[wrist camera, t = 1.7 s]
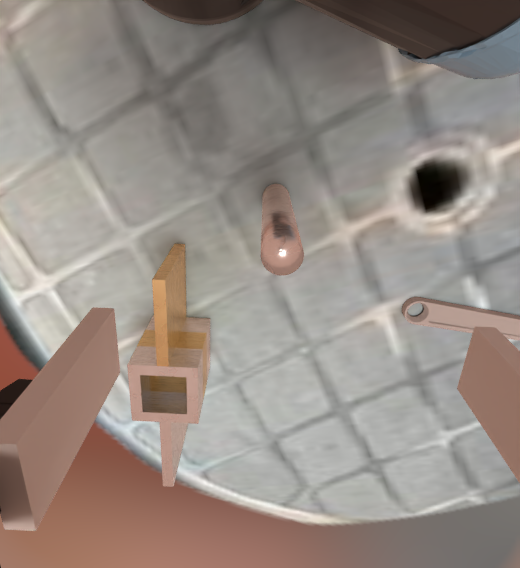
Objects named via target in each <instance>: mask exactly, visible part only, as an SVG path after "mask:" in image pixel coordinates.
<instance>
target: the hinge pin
mask: <svg viewBox="0 0 520 568" xmlns="http://www.w3.org/2000/svg"><path fill="white" fill-rule="evenodd" d="M303 258H304V252H303V248H302V244H301V240H300V236H299V232H298V228H297V224H296V220H295V215H294V211H293V207H292V203H291V199H290V195H289V192H288V190H287V189H286V188H285V187H284V186H283V185H280V184H272V185H270V186H268V187H267V188H266V189H265V190H264V192H263V198H262V232H261V260H262V263H263V265H264V267H265V268H266V269H267V270H268V271H270V272H271V273H273V274H276V275H288V274H291V273H293V272H294V271H296V270H297V269H298V268H299V267H300V265H301V264H302V262H303Z"/></svg>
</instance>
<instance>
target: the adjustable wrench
mask: <svg viewBox="0 0 520 568" xmlns="http://www.w3.org/2000/svg"><path fill="white" fill-rule="evenodd" d="M416 303H421V304H422V305H423V307H424V310H423V312H422V313H421V314H420V315H418V316H415V317H413V316H410V315H409V314H408V312H407V310H408V308H409V307H410V306H411V305H413V304H416ZM402 313H403V315H404V316H405V318H406V320H407V321H408V322H410V323H412V324H417V325H423V326H430V327H436V328H443V329H449V330H456V331H462V332H469V333H473V331H474V327H495V328H497V329H498V330H499V331H500V332H501V333H502V334H503V335H504V336H505V337H506V338H508V339H514V340H520V316H518V315H512V314H507V313H502V312H496V311H491V310H485V309H480V308H475V307H469V306H464V305H458V304H453V303H448V302H442V301H437V300H432V299H426V298H421V297H413V298H410V299H408V300H407V301H406V302H405V303H404V304H403V306H402Z"/></svg>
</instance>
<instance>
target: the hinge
mask: <svg viewBox="0 0 520 568" xmlns="http://www.w3.org/2000/svg"><path fill="white" fill-rule="evenodd" d="M152 283H153V302H154V316H152V318H151V320H150V322H149V324H148V326H147V328H146V330H145V332H144V334H143V336H142V337H141V339H140V341H139V343H138V345H137V347H136V349H135V351H134V353H133V355H132V357H131V359H130V361H129V363H128V364H127V366H128V377H129V389H130V401H131V413H132V420H134V421H155V422H160V436H161V455H162V474H163V486H172V487H173V486H174V482H175V477H176V473H177V469H178V465H179V461H180V456H181V452H182V448H183V444H184V439H185V435H186V431H187V427H188V423H196V424H198V423H199V418H200V413H201V408H202V404H203V399H204V394H205V389H206V384H207V379H208V374H209V370H210V318H192V317H186V266H185V244H174V246H173V247H172V249H171V250H170V252H169V254H168V255H167V257H166V258H165V260H164V262H163V263H162V265H161V266H160V268H159V270H158V271H157V273H156V274H155V276H154V278H153V279H152Z"/></svg>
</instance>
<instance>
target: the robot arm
mask: <svg viewBox="0 0 520 568" xmlns="http://www.w3.org/2000/svg"><path fill="white" fill-rule="evenodd" d="M143 1H144V2H145V3H147V4H148V5H149V6H151V7H152V8H154V9H155V10H157V11H158V12H160V13H162V14H164V15H165V16H168V17H170V18H172V19H175V20H178V21H181V22H185V23H190V24H197V25H211V24H219V23H223V22H227V21H230V20H233V19H236V18H238V17H240V16H242V15H244V14H246V13H248V12H249V11H251V10H252V9H254V8H255V7H256V6H257V5H259V4H260V3H261V2H262V1H263V0H143ZM296 1H298V2H300V3H302V4H304V5H307V6H309V7H311V8H313V9H315V10H317V11H319V12H322V13H324V14H326V15H328V16H330V17H332V18H335V19H337V20H339V21H341V22H343V23H345V24H347V25H350V26H352V27H354V28H356V29H358V30H360V31H363V32H365V33H367V34H369V35H371V36H373V37H375V38H378V39H380V40H382V41H384V42H386V43H388V44H391V45H393V46H395V47H397V48H398V50H399V52H400V53H401V54H402V55H403V56H405V57H406V58H408V59H410V60H412V61H414V62H418V63H420V62H422V63H426V64H434V65H437V66H439V67H442V68H444V69H447V70H449V71H452V72H454V73H457V74H459V75H462V76H464V77H468V78H473V79H478V78H479V79H495V78H503V77H507V76H510V75H513V74H516V73H520V0H296ZM119 373H120V366H119V355H118V345H117V334H116V324H115V313H114V309H112V308H92V309H91V310H90V312H89V313H88V314H87V315H86V316H85V318H84V319H83V320H82V321H81V322H80V324H79V325H78V326H77V327H76V329H75V330H74V331H73V332H72V333H71V335H70V336H69V337H68V338H67V339H66V341H65V342H64V343H63V344H62V345H61V347H60V348H59V349H58V350H57V352H56V353H55V354H54V355H53V356H52V358H51V359H50V360H49V361H48V362H47V364H46V365H45V366H44V367H43V368H42V370H41V371H40V372H39V373H38V375H37V376H36V377H35V378H34V380H26V379H18V380H16V381H15V382H14V383H12V384H10V385H9V386H7V387H5V388H4V389H2V390H1V391H0V514H1V518H2V522H3V525H4V529H7V530H29V531H36V530H37V528H38V526H39V524H40V522H41V520H42V518H43V517H44V515H45V513H46V511H47V509H48V507H49V505H50V503H51V501H52V500H53V498H54V496H55V494H56V492H57V490H58V488H59V486H60V484H61V483H62V481H63V479H64V477H65V475H66V473H67V471H68V469H69V467H70V466H71V464H72V462H73V460H74V458H75V456H76V454H77V453H78V451H79V449H80V447H81V445H82V443H83V441H84V439H85V437H86V435H87V434H88V432H89V430H90V428H91V426H92V424H93V422H94V421H95V419H96V417H97V415H98V413H99V411H100V409H101V407H102V405H103V404H104V402H105V400H106V398H107V396H108V394H109V392H110V390H111V388H112V387H113V385H114V383H115V381H116V379H117V377H118V375H119ZM457 389H458V391H459V392H460V394H461V395H462V397H463V398H464V400H465V401H466V403H467V404H468V406H469V407H470V409H471V410H472V412H473V413H474V415H475V416H476V418H477V419H478V421H479V422H480V424H481V425H482V427H483V428H484V430H485V431H486V433H487V434H488V436H489V437H490V439H491V440H492V442H493V443H494V445H495V446H496V448H497V449H498V451H499V452H500V454H501V455H502V457H503V458H504V460H505V461H506V463H507V464H508V466H509V468H510V469H511V471H512V472H513V474H514V475H515V477H516V478H517V480H518V481H519V483H520V351H519V350H518V349H517V348H516V347H515V346H514V345H513V344H512V343H511V342H510V341H509V340H508V339H507V338H506V337H505V336H504V335H503V334H502V333H501V332H500V331H499V330H498V329H497V328H495V327H474V331H473V334H472V338H471V341H470V345H469V348H468V352H467V356H466V359H465V363H464V366H463V370H462V373H461V377H460V380H459V384H458V387H457ZM0 568H1V566H0Z"/></svg>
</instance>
